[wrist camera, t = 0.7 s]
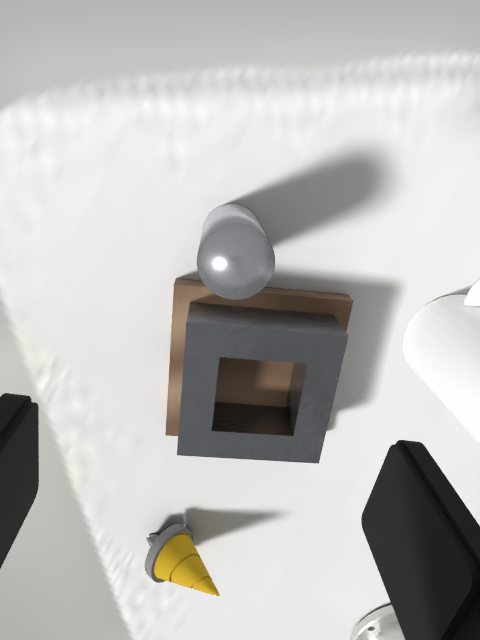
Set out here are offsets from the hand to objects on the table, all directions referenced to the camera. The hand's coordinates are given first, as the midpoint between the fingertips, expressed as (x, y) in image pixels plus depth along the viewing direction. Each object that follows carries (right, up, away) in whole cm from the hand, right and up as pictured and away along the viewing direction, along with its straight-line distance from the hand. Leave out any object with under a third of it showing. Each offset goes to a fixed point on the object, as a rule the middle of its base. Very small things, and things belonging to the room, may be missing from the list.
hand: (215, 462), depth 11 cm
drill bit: (-6, -18, +32) cm, 37 cm away
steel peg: (0, +10, +21) cm, 23 cm away
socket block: (+2, -1, +24) cm, 24 cm away
